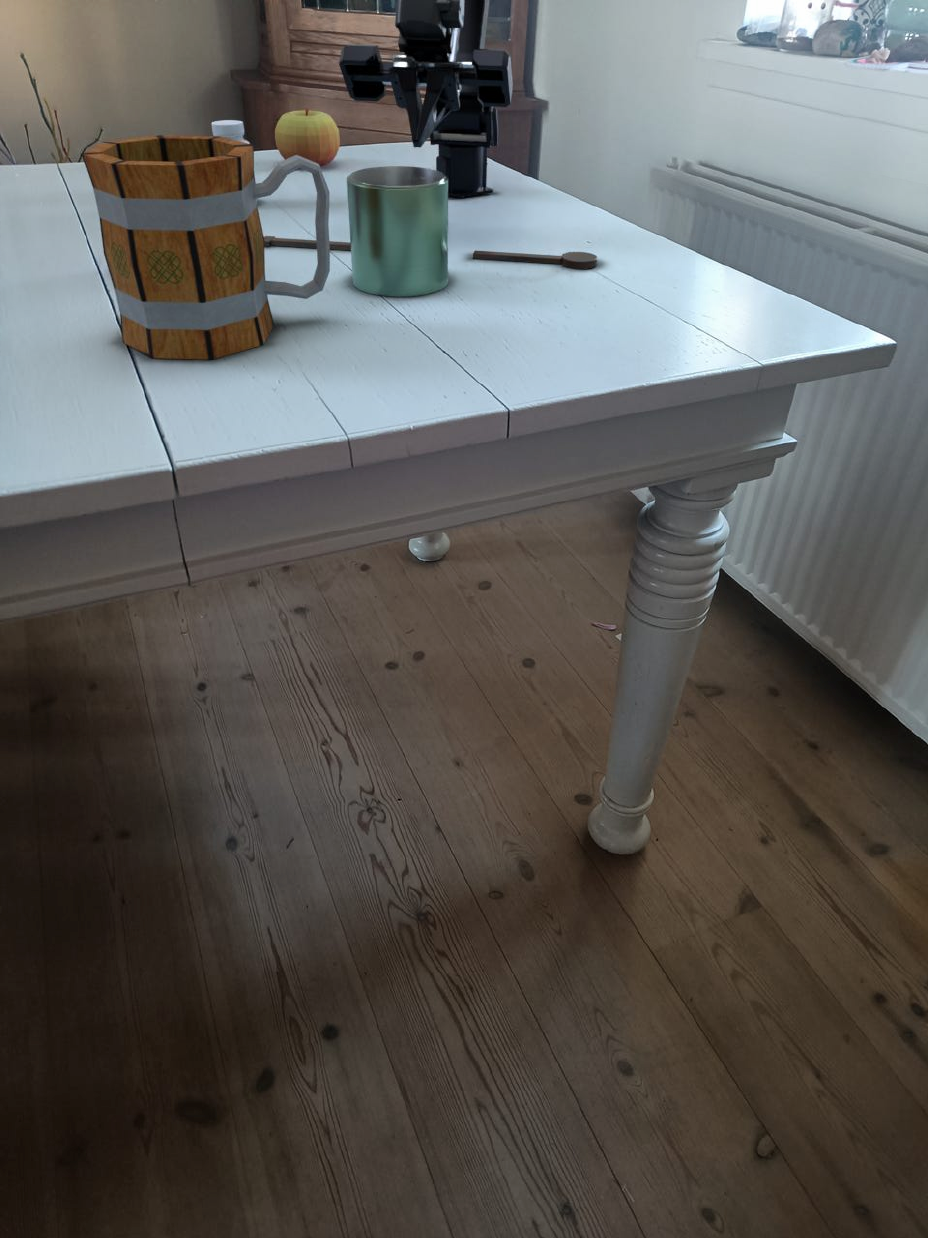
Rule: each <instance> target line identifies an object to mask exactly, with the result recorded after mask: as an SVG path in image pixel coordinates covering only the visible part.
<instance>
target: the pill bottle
mask: <svg viewBox="0 0 928 1238" xmlns="http://www.w3.org/2000/svg"><path fill="white" fill-rule="evenodd" d="M211 131H212V136H220V137H224V138H228V139H232V140H236V141H240V142H244V143H248V144H251V142H249V140H246V139H244V135H245V127H244V122H243V121H241V120H237V119H236V120H235V119H223V120H215V121H212V122H211ZM255 176H256V175H255V173H254V182H255V184H257V182H256V177H255ZM256 199H257V202H258V199H259V198H256Z"/></svg>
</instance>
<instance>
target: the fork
mask: <svg viewBox="0 0 928 1238" xmlns="http://www.w3.org/2000/svg"><path fill="white" fill-rule="evenodd" d="M329 243H330V250H333V251H334V250H335V251H349V252H351V243H350V242H347V241H335V240H333V241H332V240H329ZM271 246H272V247H288V248H290V247H291V248H302V249H303V248H304V249H305V248H306V249H317V241H316V239H301V238H287V237H286V238H285V237H276V236H275V235H265V236H264V248H268V247H271Z"/></svg>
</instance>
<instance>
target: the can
mask: <svg viewBox="0 0 928 1238" xmlns="http://www.w3.org/2000/svg"><path fill="white" fill-rule="evenodd" d="M346 191H347V192H346V193H347V205H348V206H347V207H348V208H347V210H348V223H349V225H348V226H349V240H350V243H351V251H350V258H351V274H352V275H351V276H352V284H353V286H354V287H355V288H356V289H358V290H359V291H362V292H364V293H367V294H370V295H376V296H383V297H397V298H398V297H401V298H403V297H417V296H424V295H425V296H426V295H429V294H433V293H436V292H439V291H441V290H443V289H444V288H445V287H447V285H448V283H449V195H448V177H447V176H446V175H444V174H443V173H441V172H439V171H436V169H432V168H426V167H421V166H420V167H419V166H407V165H388V166H387V165H386V166H375V167H368V168H367V167H366V168H363V169H359V170H355V171H353V172H351V173H350V174H348V176H347V177H346Z"/></svg>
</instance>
